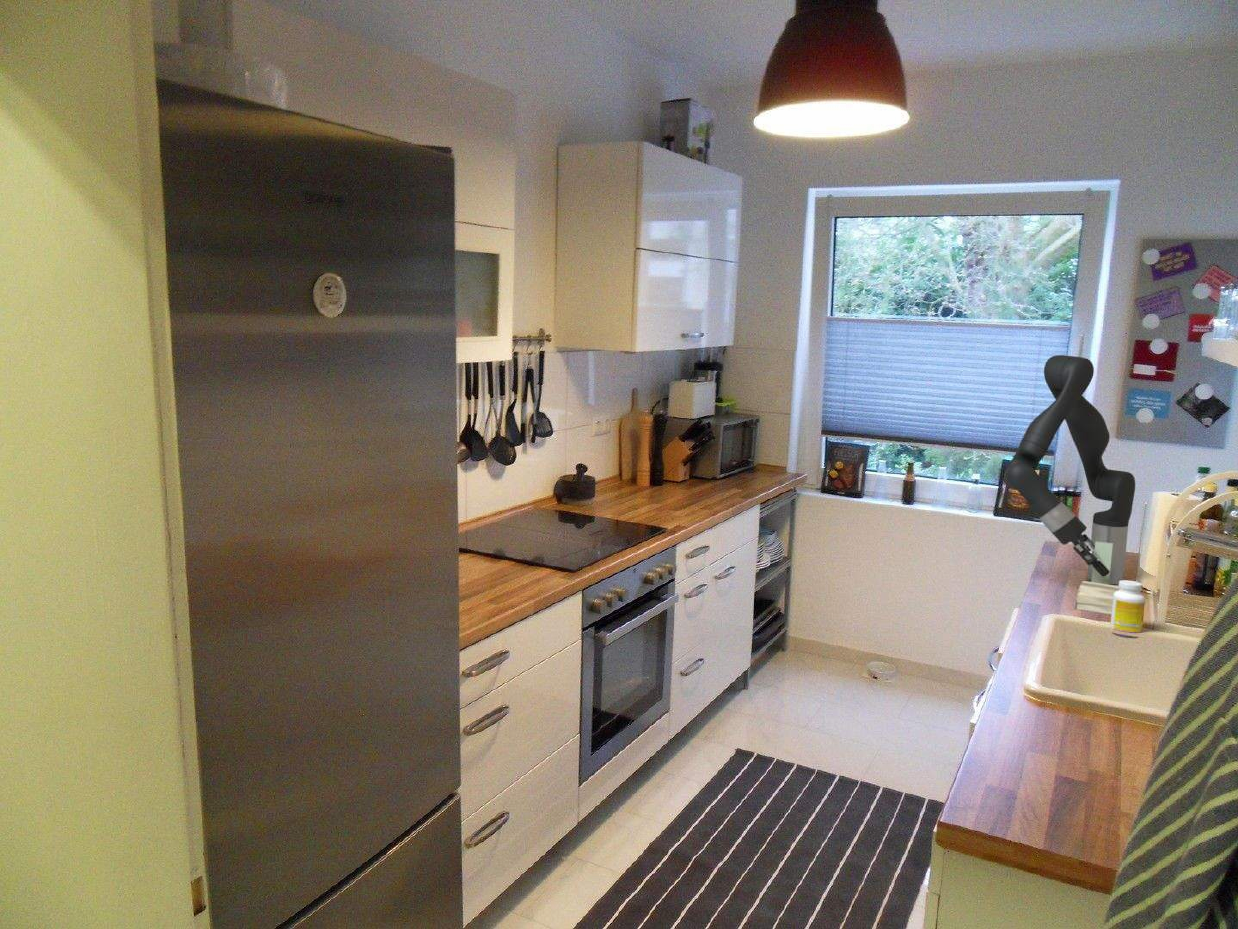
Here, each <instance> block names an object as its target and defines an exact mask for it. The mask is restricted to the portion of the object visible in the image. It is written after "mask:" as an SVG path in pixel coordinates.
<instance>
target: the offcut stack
mask: <svg viewBox="0 0 1238 929" xmlns="http://www.w3.org/2000/svg"><path fill="white" fill-rule="evenodd" d="M1119 589H1120V588H1119V586H1117V585H1115V584H1109V585H1107V584H1101V583H1094V582H1092V581H1086V580H1083V581H1081V584H1080V585H1079V588H1078V589H1077V596H1076V598H1077V599H1076V601H1077V602H1078V604H1077V609H1080V610H1079V611H1083V610H1087V611H1086V612H1090V611H1093V612H1092V613H1096V612H1100V613H1099V614H1103V613H1106V614H1105V615H1109V614H1111V613H1112V603H1113V594H1114V593H1115V592H1116V591H1119ZM1077 609H1076V610H1077Z"/></svg>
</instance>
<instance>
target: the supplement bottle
mask: <svg viewBox="0 0 1238 929" xmlns="http://www.w3.org/2000/svg"><path fill="white" fill-rule="evenodd" d="M1142 586H1143V584H1142V583H1140V582H1138V581H1135V580H1125V579H1123V580H1121V581H1119V588H1120V589H1119V591H1116V592H1115V593H1114V594H1113V603H1112V613H1111V615H1110V625H1109V628H1111V629H1112V630H1114V631H1118V632H1121V633H1116V632H1112V634H1113V635H1114V636H1116V637H1121V638H1125V639H1138V638H1140V636H1135V635H1128V634H1141V633H1142V632H1143V625H1144V624H1143V623H1144V613H1145V605H1146V604H1145V603H1146V598H1145V596H1144V595H1143V594H1142V593H1141V590H1142ZM1122 633H1127V634H1122Z"/></svg>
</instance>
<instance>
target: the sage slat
mask: <svg viewBox="0 0 1238 929" xmlns="http://www.w3.org/2000/svg"><path fill="white" fill-rule="evenodd" d="M1112 549H1113V543H1104V542H1095V551H1096V556H1097V557H1098V558H1099V560H1100V561H1101V562H1102V563H1103V564H1104V565H1105V567H1106V568H1107V569H1108V570H1109V571H1110V569H1111V559H1112ZM1109 580H1110V573H1109V574H1107V575H1106V576H1104V577H1103V576H1101V575H1100V574H1099V573H1098V571H1097V570H1096V569H1095V568H1094V567H1093V572H1092V581H1091V582H1094V583H1101V584H1107V585H1110V584H1109Z"/></svg>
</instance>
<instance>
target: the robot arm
mask: <svg viewBox="0 0 1238 929" xmlns="http://www.w3.org/2000/svg"><path fill="white" fill-rule="evenodd" d="M1094 372H1095V368H1094V364H1093V362H1092V361H1091V360H1090V359H1089V358H1086V357H1082V356H1081V357H1080V356H1073V355H1065V354H1061V355H1058V354H1057V355H1053V356H1051V357H1049V358H1048V359H1047V360H1046V362H1045V365H1044V369H1043V376H1044V380H1045V383H1046V385H1047V386H1048V389H1049V390H1050V392H1051V394H1052V396H1053V397H1054V399H1055V400H1054V401H1053V402H1052V403H1051V404H1050V405H1049V406H1048V407H1047V408H1045V409H1044V410H1043V411H1042V412H1041V413H1040V414H1038V415H1037V416H1036V417H1034V419H1033V420H1032V421H1031V422H1030V423H1029V425H1028V427H1027V428H1026V429H1025V430H1026V431H1025V432H1024V435H1023V436H1022V438H1021V440H1020V443H1019V445H1018V448H1017V451H1016V452H1015V454H1014V455H1013V457H1012V459H1011V460H1010V462H1009V464H1008V465H1007V468H1006V469H1005V471H1004V475H1003V480H1004V484H1005V485H1006V486H1007V487H1008V488H1009V489H1011V490H1014V491H1017V492H1018V493H1019V494H1020V495H1021V496H1022V497H1023V498H1024V500H1025V501H1026V504H1027V506H1028V507H1029V509H1030V510H1031V511H1032V512H1034V514H1035V515H1036V516H1037V517H1038V519H1039V520H1040V521H1041V522H1042V524H1043V525H1044V526H1045V528H1047V529H1048V531H1049V532H1050V533H1051V534H1052V535H1053V536H1054V538H1056V539H1057V540H1058V542H1060V544H1062V545H1063V546H1064V545H1065V546H1066V545H1067V544H1069V543H1072V545H1073V546H1072V548H1073V550H1074V551H1075V552H1076V553H1077V554H1078V555H1079V557H1081V559H1082V560H1083V561H1084V562H1085V563H1086V565H1088V568H1087V570H1088V571H1087V577H1086V579H1087V580H1089V581H1090V582H1092V572H1093V567H1094V568H1095V569H1096V570H1097V571H1098V573H1099V574H1100V575H1101V576H1103V577H1104V576H1106V575H1107V574H1109V573H1110V580H1109V585H1118V580H1124V572H1125V562H1126V554H1127V542H1128V535H1129V534H1128V532H1129V524H1130V519H1131V515H1132V512H1133V504H1134V500H1135V499H1134V498H1135V493H1136V492H1135V491H1136V479H1135V478H1136V477H1135V476H1134V475H1133V473H1131V472H1130V471H1124V470H1115V469H1109V468H1107V467H1106V465H1105V463H1104V462H1103V455H1104V453H1105V452H1106V450H1107V448H1108V445H1109V442H1110V437H1111V436H1110V431H1109V429H1108V427H1107V424H1106V421H1105V419H1104V417H1103V415H1102V413H1101V412H1100V411H1099V410H1098V409H1097V408H1096V407H1095V406H1094V405H1093V404H1092V403H1091V402H1090V401H1089V400H1088V399H1086V398H1085V397H1084V393H1085V392H1086V390H1087V389H1088V387H1089V386H1090V384H1091V381H1092V379H1093V377H1094ZM1064 421H1065V422H1066V425H1067V427H1068V431H1069V433H1070V436H1071V438H1072V440H1073V443H1074V445H1075V447H1076V450H1077V452H1078V455H1079V457H1080V461H1081V463H1082V467H1083V471H1084V474H1085V478H1086V482H1087V485H1088V489H1089V492H1090V493H1091V495H1092V496H1093V498H1095V499H1099V500H1101V501H1106V502H1111V506H1110V508H1109V509H1107V510H1103V511H1097V512H1095V513H1094V514H1093V515H1092V523H1091V524H1092V525H1091V536H1090V537H1091V538H1089V536H1088V535H1087V534H1086V533H1084V532H1085V531H1086V530H1087V525H1085V524H1084V523H1083V521H1081V520H1080V518H1079V517H1078V516H1077V515H1076V514H1075V513H1074V512H1073V511H1072V510H1071V509H1070V508H1069V507H1068V506H1067V505H1066V504H1065V503H1063V502H1062V501H1061V500H1060V499H1059V497H1057V495H1056V494H1055V493H1054V492H1053V491H1052V490H1051V489H1049V487H1048V486H1047V485H1046V483H1045V482H1044V480H1043V479H1042V477H1041V476H1040V475H1039V474H1038V473H1037V471H1036V470H1037V469H1038V466H1039V464H1040V462H1041V460H1043V459H1044V457H1045V456H1046V453H1048V450H1049V448H1050V446H1051V444H1052V442H1053V440H1054V438H1055V436H1056V434H1057V432H1058V430H1059V429H1060V427H1061V426H1062V424H1063V422H1064ZM1083 533H1084V534H1083ZM1095 542H1104V543H1113V549H1112V559H1111V569H1110V571H1109V570H1108V569H1107V568H1106V567H1105V565H1104V564H1103V563H1102V562H1101V561H1100V560H1099V558H1098V557H1097V556H1096V551H1095Z"/></svg>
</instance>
